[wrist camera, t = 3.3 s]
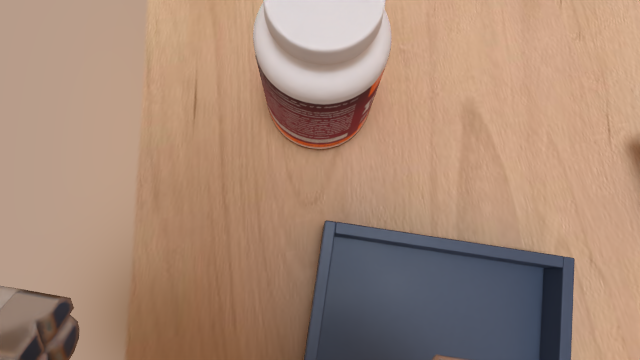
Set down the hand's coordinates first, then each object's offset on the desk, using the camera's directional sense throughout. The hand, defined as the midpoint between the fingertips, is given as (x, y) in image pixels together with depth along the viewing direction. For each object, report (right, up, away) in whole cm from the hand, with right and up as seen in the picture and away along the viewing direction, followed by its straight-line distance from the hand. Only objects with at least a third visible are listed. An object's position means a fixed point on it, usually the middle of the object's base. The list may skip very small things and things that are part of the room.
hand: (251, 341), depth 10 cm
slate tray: (+8, -5, +15) cm, 18 cm away
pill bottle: (+2, +8, +18) cm, 20 cm away
